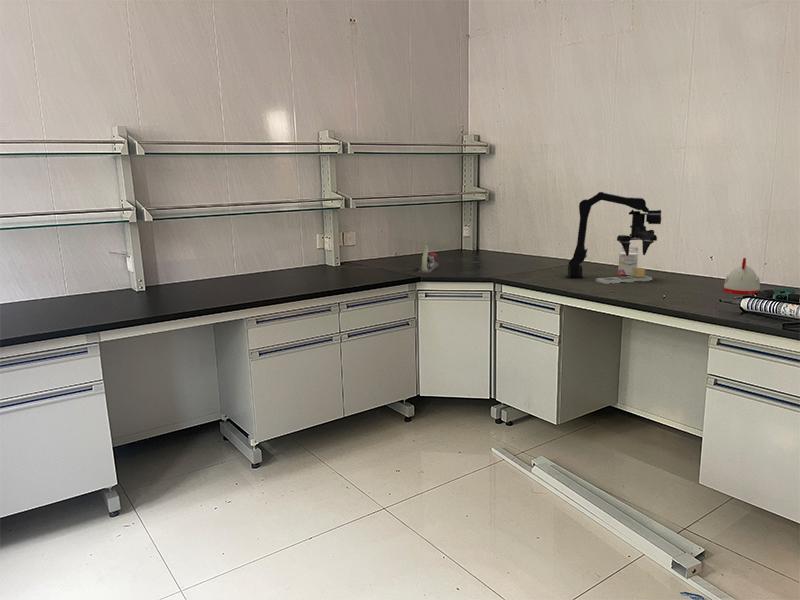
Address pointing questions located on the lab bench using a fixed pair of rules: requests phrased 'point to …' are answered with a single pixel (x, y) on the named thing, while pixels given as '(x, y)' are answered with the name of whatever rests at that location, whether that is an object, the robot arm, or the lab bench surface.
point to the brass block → (638, 272)
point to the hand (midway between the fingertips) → (635, 255)
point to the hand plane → (428, 261)
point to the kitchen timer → (742, 280)
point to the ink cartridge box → (628, 261)
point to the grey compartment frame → (619, 279)
